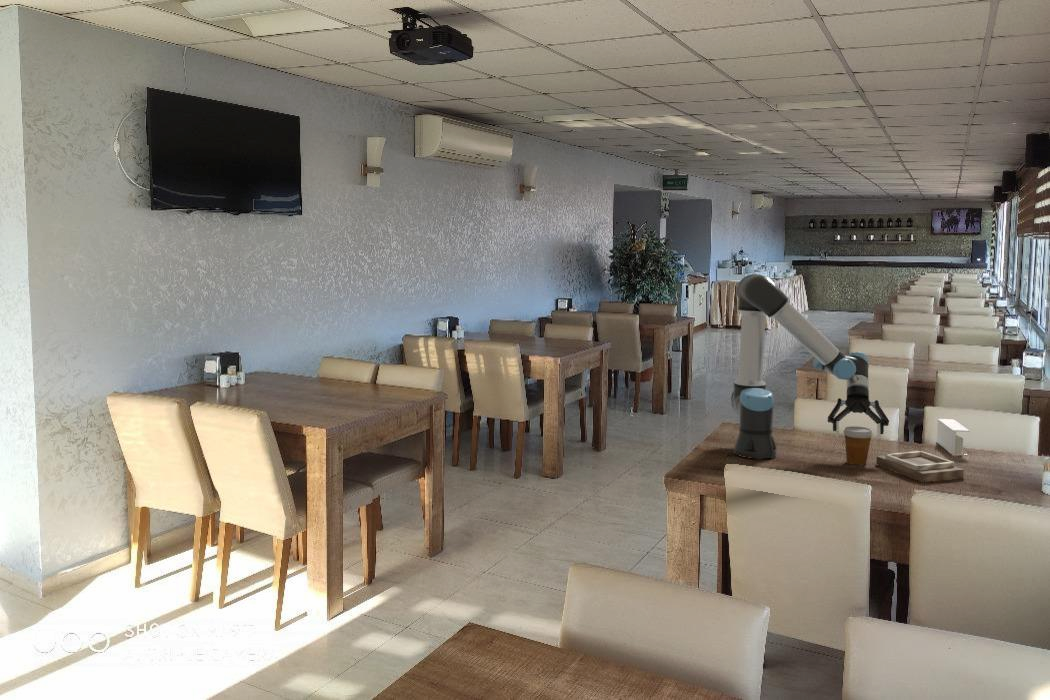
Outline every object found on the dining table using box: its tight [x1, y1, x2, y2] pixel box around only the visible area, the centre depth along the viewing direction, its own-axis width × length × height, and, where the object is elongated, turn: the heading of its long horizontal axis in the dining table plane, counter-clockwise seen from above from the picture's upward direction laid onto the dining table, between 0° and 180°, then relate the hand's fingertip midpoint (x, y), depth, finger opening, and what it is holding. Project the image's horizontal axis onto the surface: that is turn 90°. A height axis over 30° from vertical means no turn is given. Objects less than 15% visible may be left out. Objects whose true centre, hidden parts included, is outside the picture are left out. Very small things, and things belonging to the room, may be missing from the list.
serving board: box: [875, 450, 965, 483], centre depth 277 cm, size 16×22×4 cm
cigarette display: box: [936, 418, 970, 455], centre depth 306 cm, size 20×6×9 cm, turn 169°
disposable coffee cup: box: [843, 425, 874, 466], centre depth 288 cm, size 10×10×12 cm
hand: (858, 440), depth 289 cm, fingers open, 13 cm apart
